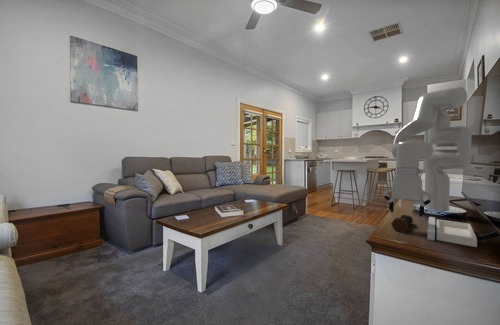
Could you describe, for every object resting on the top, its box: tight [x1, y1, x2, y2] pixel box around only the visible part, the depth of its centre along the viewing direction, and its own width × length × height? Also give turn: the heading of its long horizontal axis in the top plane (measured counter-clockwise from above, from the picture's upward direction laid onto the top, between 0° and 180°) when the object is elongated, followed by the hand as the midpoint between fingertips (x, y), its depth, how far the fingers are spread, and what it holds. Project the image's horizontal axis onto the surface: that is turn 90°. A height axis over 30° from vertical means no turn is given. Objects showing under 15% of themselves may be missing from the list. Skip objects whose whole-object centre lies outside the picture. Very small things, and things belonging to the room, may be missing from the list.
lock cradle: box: [435, 218, 478, 248], centre depth 83 cm, size 20×10×3 cm, turn 140°
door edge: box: [426, 216, 436, 241], centre depth 87 cm, size 22×2×3 cm, turn 140°
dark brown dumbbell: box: [390, 214, 414, 233], centre depth 93 cm, size 6×5×15 cm
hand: (406, 213), depth 92 cm, fingers open, 9 cm apart
